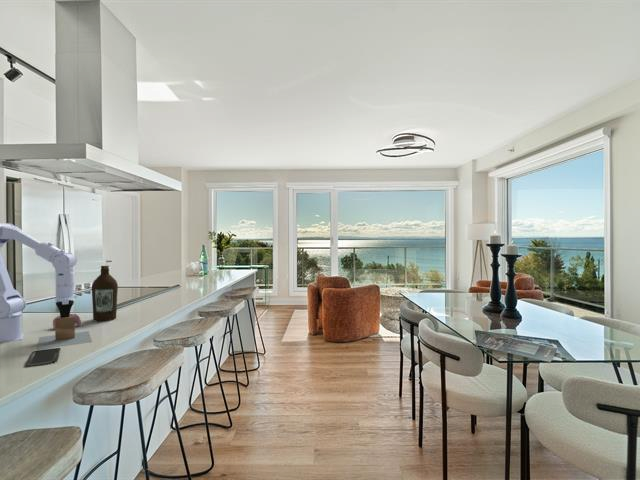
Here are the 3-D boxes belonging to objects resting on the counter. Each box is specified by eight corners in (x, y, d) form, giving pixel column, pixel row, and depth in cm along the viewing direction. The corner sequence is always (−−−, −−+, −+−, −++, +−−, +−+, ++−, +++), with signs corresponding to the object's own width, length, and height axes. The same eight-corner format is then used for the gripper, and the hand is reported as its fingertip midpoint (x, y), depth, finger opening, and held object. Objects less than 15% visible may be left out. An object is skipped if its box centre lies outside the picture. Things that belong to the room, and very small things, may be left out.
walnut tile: (55, 339, 138) (55, 318, 138) (74, 337, 142) (74, 316, 142) (55, 340, 137) (55, 319, 137) (74, 338, 141) (74, 317, 140)
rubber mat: (39, 338, 141) (39, 337, 141) (88, 332, 151) (88, 331, 151) (37, 350, 127) (37, 349, 127) (92, 342, 136) (92, 341, 136)
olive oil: (92, 317, 176) (92, 265, 175) (118, 315, 180) (118, 264, 180) (90, 322, 166) (90, 267, 166) (117, 320, 171) (117, 266, 170)
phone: (25, 364, 111) (32, 350, 124) (25, 368, 111) (32, 354, 124) (56, 360, 115) (61, 347, 128) (57, 364, 115) (61, 350, 128)
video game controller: (80, 329, 161) (78, 313, 163) (82, 326, 158) (80, 310, 160) (52, 333, 154) (51, 317, 156) (54, 330, 151) (53, 314, 153)
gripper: (78, 286, 138) (78, 322, 138) (76, 282, 150) (76, 315, 150) (55, 287, 134) (55, 325, 134) (54, 283, 145) (55, 317, 146)
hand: (64, 320), depth 142 cm, fingers closed
